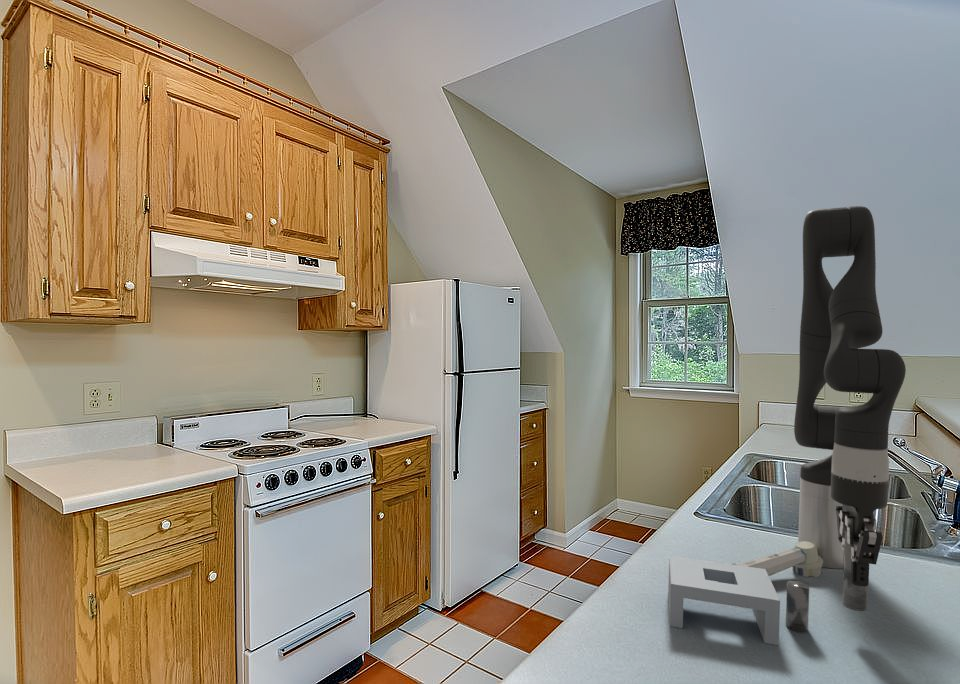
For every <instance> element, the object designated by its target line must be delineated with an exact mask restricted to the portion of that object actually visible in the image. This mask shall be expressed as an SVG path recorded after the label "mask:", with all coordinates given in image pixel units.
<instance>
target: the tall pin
mask: <svg viewBox="0 0 960 684" xmlns="http://www.w3.org/2000/svg"><path fill="white" fill-rule="evenodd" d="M854 541H859V539H854ZM863 555H866V552H864V553H863ZM851 560H852V559H851V546H850V545H849V544H848V543H847V529H846V530H845V547H844V572H843V575H842V576H843V577H842V580H843V581H842V601H841V602H842V605H843V606H844V607H845V608H848V609H849V610H853V611H857V612H866V611H867V603H868V602H867V601H868V586H866V587H864V586H856V585H854V584H853V583H852V582H851Z"/></svg>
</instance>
